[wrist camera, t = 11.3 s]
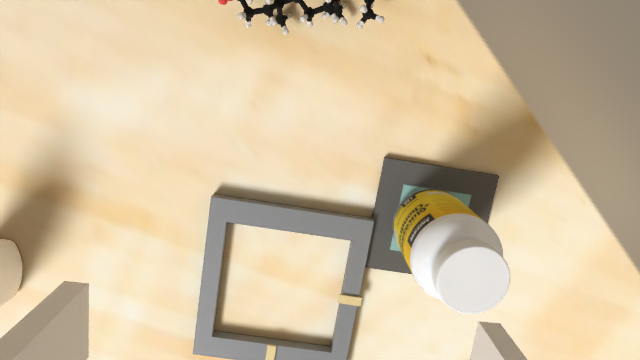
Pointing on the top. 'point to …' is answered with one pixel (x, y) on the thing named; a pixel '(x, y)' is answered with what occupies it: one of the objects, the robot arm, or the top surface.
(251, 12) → the molecular model
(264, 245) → the top surface
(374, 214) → the mat
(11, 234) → the top surface
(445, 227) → the pill bottle
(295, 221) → the socket plate
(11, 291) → the eye dropper bottle
